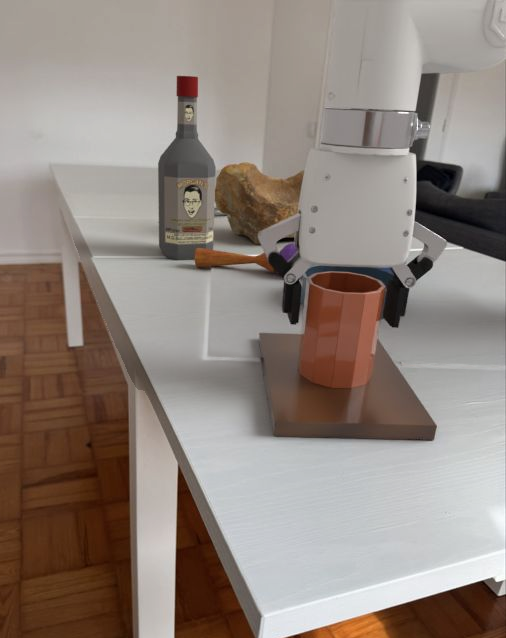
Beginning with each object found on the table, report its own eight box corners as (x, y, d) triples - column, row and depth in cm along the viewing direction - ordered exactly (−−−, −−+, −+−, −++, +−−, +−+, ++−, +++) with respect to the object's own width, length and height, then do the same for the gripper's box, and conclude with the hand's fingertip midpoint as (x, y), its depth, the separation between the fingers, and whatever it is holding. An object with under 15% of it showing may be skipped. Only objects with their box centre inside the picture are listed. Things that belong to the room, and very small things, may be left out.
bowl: (382, 292, 86) (387, 264, 84) (411, 325, 73) (417, 293, 72) (293, 289, 86) (295, 261, 84) (306, 322, 73) (309, 289, 71)
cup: (360, 357, 59) (373, 272, 55) (378, 389, 53) (394, 295, 49) (294, 355, 59) (302, 270, 55) (303, 387, 53) (314, 292, 49)
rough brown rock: (217, 251, 109) (223, 174, 102) (210, 227, 124) (215, 158, 117) (330, 256, 113) (343, 181, 106) (310, 232, 127) (320, 165, 120)
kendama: (204, 239, 97) (317, 243, 91) (203, 273, 98) (315, 279, 92) (191, 240, 91) (311, 243, 86) (191, 276, 93) (309, 282, 87)
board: (374, 347, 66) (376, 336, 65) (434, 440, 48) (437, 425, 47) (258, 344, 65) (259, 332, 65) (273, 436, 47) (274, 421, 47)
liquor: (157, 248, 106) (155, 75, 94) (202, 247, 109) (206, 78, 97) (167, 261, 98) (166, 73, 86) (215, 258, 101) (221, 77, 89)
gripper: (448, 135, 50) (416, 310, 57) (261, 128, 50) (251, 305, 57) (485, 140, 44) (442, 338, 51) (268, 131, 43) (255, 333, 50)
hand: (341, 321), depth 54 cm, fingers open, 9 cm apart
